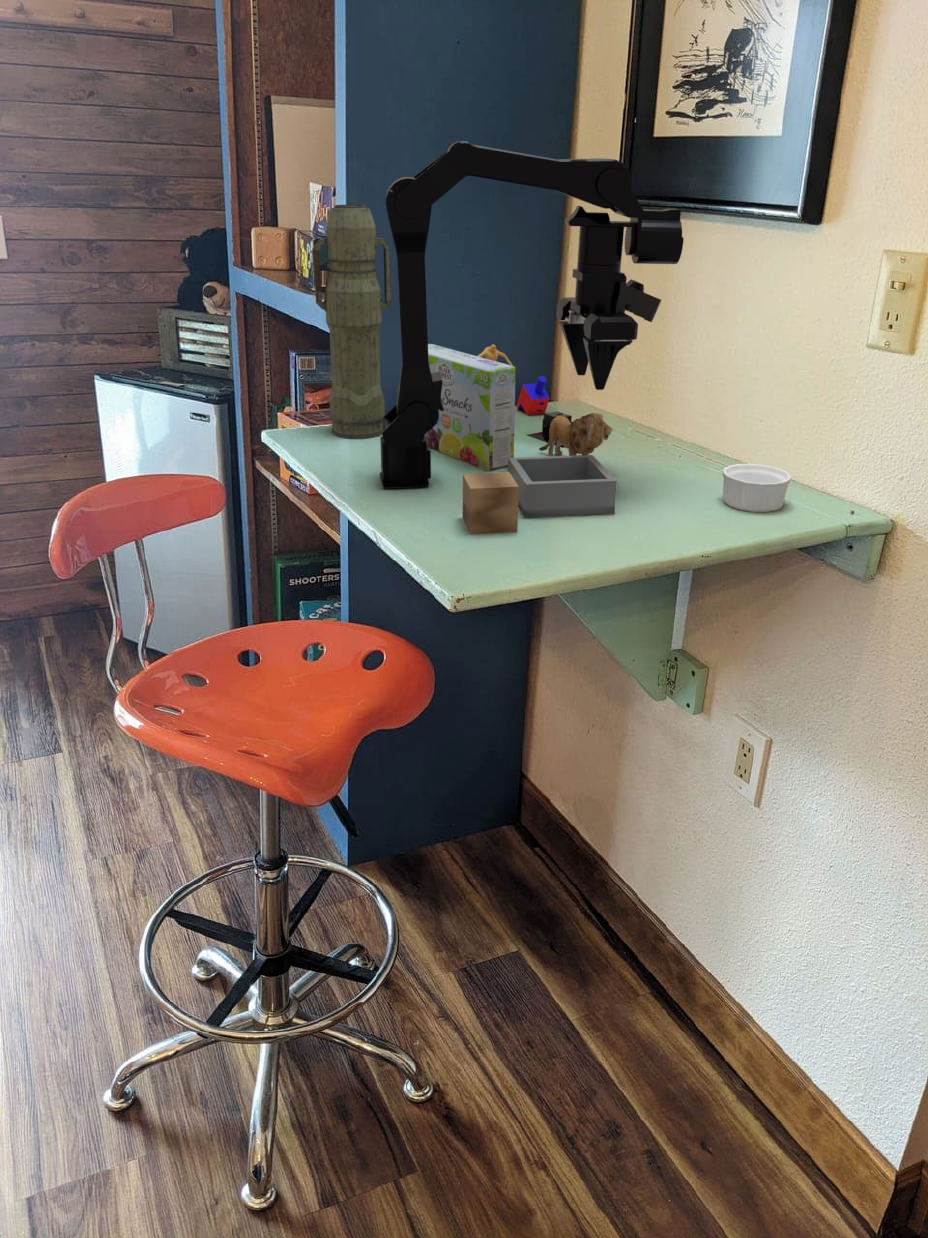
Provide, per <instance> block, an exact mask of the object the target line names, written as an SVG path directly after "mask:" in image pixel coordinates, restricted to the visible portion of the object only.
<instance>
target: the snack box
mask: <svg viewBox="0 0 928 1238" xmlns="http://www.w3.org/2000/svg"><path fill="white" fill-rule="evenodd" d="M428 360H429V366H430V371H431V373H436V372H440V373H441V377H442V391H441V398H442V403H443V408H444V411H440V410H439V409H438V410H439V417H438V421H437V424H436V425H435V426H434V427H433V428H432V429H431V430H430V431H428V432H426V433H425V438H426V441H427V446H428V447H429V449H430V448H431V449H433V450H436V451H438V452H440V453H443V454H445V455H448V456H450V457H452V458H455V459H457V460H460V461H463V462H465V463H467V464H470V465H472V466H474V467H477V468H479V469H482V470H484V471H488V472H491V471H493V470H494V471H495V470H497V469H498V470H499V469H503V468H507V467H508V458H515V456H514V455H515V418H516V416H515V413H516V411H515V410H516V408H515V407H516V373H517V372H516V371H517V370H516V366H514V365H513V366H511V365H510V364H508V363H507V364H506V363H503V362H499V361H497V360H496V361H492V360H489V359H486V358H484V357H482V358H481V357H478V355H473V354H470V353H466V352H464V351H463V352H462V351H459V350H456V349H453V348H448V347H444V346H442V345H441V346H440V345H437V344H432V343H428Z"/></svg>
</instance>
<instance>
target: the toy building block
mask: <svg viewBox="0 0 928 1238" xmlns="http://www.w3.org/2000/svg"><path fill="white" fill-rule="evenodd" d="M546 382H547V378H546V377H545V376H544V375H539V376H538V378H537V380H536V382H535V383H526V384H525V383H524V384H522V387H521V390H520V393H519V396H518V399H517V403H516V405H515V407H516V408H515V409H517V411H524V412H525V414H526V415H527V416H531V415H540V414H541V415H542V414H543V415H544V414H545V413H547V409H548V406H549V402H550V400H551V399H550V396H549V394H548V393H547V391H546V390H545V387H546V384H547V383H546Z"/></svg>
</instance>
